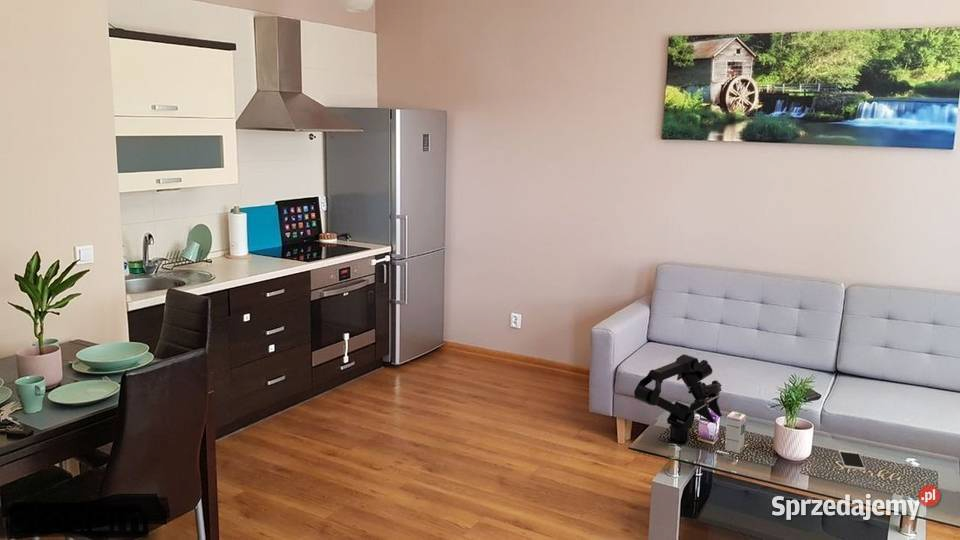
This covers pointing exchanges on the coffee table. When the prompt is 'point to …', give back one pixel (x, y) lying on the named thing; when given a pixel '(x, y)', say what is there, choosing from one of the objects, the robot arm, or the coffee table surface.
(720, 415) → the robot arm
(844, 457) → the smartphone
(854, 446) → the coffee table surface
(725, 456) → the traps
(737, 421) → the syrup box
